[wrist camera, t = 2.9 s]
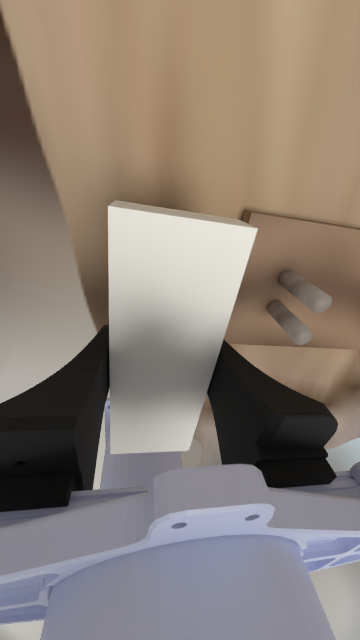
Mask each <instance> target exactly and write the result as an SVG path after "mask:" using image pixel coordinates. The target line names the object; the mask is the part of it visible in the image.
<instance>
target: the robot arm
mask: <svg viewBox="0 0 360 640" xmlns="http://www.w3.org/2000/svg"><path fill="white" fill-rule="evenodd" d="M109 387H110V365H109V325H104V326H103V327H102V328H101V330H100V331H99V332H98V333H97V335H96V336H95V337H94V338H93V340H91V342H90V343H89V344H88V345H87V346H86V347H85V348H84V349H83V350H82V351H81V352H80V353H79V354H78V355H77V356H76V357H75V358H73V359H72V360H71V361H70V362H69V363H68V364H66V365H65V366H64V367H63V368H61V369H60V370H59V371H57V372H56V373H54V374H53V375H52V376H50V377H49V378H47V379H46V380H44V381H42V382H41V383H39V384H37V385H36V386H34V387H33V388H30V389H29V390H27V391H25V392H23V393H21V394H19V395H18V396H15V397H13V398H11V399H9V400H7V401H5V402H3V403H1V404H0V625H2V624H11V623H20V622H30V621H39V620H45V621H44V626H43V630H42V634H41V638H40V640H336V639H335V636H334V634H333V631H332V629H331V627H330V624H329V622H328V620H327V617H326V614H325V612H324V610H323V607H322V605H321V602H320V600H319V597H318V595H317V593H316V590H315V588H314V585H313V583H312V580H311V578H310V575H309V572H313V571H318V570H322V569H326V568H330V567H335V566H338V565H343V564H347V563H351V562H356V561H360V462H358V463H356V464H355V465H354V466H352V468H351V469H350V471H341V472H334V471H333V469H332V468H331V466H330V465H329V463H328V462H327V460H326V457H328V453H327V452H326V450H325V449H324V446H325V444H326V443H327V442H328V441H329V440H330V439H331V437H332V436H333V435H334V433H335V432H336V430H337V426H338V423H337V420H336V419H335V417H334V416H333V415H332V414H331V412H330V411H329V410H328V408H327V407H326V406H325V405H324V404H323V403H321V402H318V401H316V400H314V399H311V398H309V397H307V396H304V395H302V394H300V393H298V392H296V391H294V390H292V389H290V388H288V387H286V386H285V385H283V384H281V383H279V382H278V381H276V380H274V379H273V378H271V377H269V376H268V375H266V374H265V373H263V372H262V371H260V370H259V369H258V368H256V367H255V366H253V365H252V364H251V363H250V362H248V361H247V360H246V359H245V358H243V357H242V356H241V355H240V354H239V353H238V352H237V351H236V350H234V349H233V348H232V347H231V346H230V345H229V344H228V343H227V342H226V341H225V340H224V339H223V342H222V346H221V349H220V352H219V355H218V358H217V362H216V365H215V368H214V371H213V374H212V378H211V381H210V384H209V387H208V390H207V394H208V397H209V400H210V403H211V407H212V411H213V415H214V420H215V425H216V431H217V436H218V442H219V448H220V455H221V461H222V465H212V466H196V467H182V462H181V454H180V451H171V452H149V453H127V454H110V398H107V395H108V391H109ZM104 407H105V432H106V450H105V457H104V464H103V470H102V477H101V484H100V490H93V482H94V474H95V467H96V459H97V452H98V445H99V438H100V431H101V424H102V418H103V412H104Z"/></svg>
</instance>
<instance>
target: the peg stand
mask: <svg viewBox="0 0 360 640" xmlns="http://www.w3.org/2000/svg"><path fill="white" fill-rule="evenodd" d="M242 221H243V222H245V223H247V224H249V225H251V226H254V227H256V228H258V230H257V233H256V237H255V240H254V243H253V246H252V249H251V253H250V256H249V259H248V262H247V265H246V269H245V272H244V275H243V278H242V281H241V285H240V288H239V291H238V294H237V297H236V301H235V304H234V307H233V310H232V313H231V317H230V320H229V323H228V326H227V330H226V333H225V336H224V340H225V341H226V342H227V343H228V344H247V345H270V346H292V347H314V348H337V349H359V350H360V229H358V228H351V227H345V226H339V225H333V224H327V223H321V222H315V221H309V220H303V219H297V218H291V217H284V216H278V215H272V214H266V213H260V212H254V211H248V210H244V214H243V217H242Z"/></svg>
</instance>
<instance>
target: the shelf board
mask: <svg viewBox="0 0 360 640" xmlns="http://www.w3.org/2000/svg"><path fill="white" fill-rule="evenodd" d="M257 230H258V228H256V227H254V226H251V225H249V224H247V223H245V222H243V221H241V220H239V219H233V218H226V217H220V216H214V215H207V214H201V213H194V212H188V211H182V210H175V209H169V208H162V207H156V206H150V205H143V204H137V203H130V202H124V201H118V200H115V201H114V202H112V203H111V204H110V205H108V270H109V365H110V454H127V453H149V452H171V451H189V448H190V445H191V442H192V439H193V435H194V432H195V429H196V426H197V423H198V419H199V416H200V413H201V410H202V406H203V403H204V400H205V397H206V394H207V390H208V387H209V384H210V381H211V378H212V374H213V371H214V368H215V365H216V362H217V358H218V355H219V352H220V349H221V346H222V342H223V339H224V336H225V333H226V330H227V326H228V323H229V320H230V317H231V313H232V310H233V307H234V304H235V301H236V297H237V294H238V291H239V288H240V285H241V281H242V278H243V275H244V272H245V269H246V265H247V262H248V259H249V256H250V253H251V249H252V246H253V243H254V240H255V237H256V233H257Z"/></svg>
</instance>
